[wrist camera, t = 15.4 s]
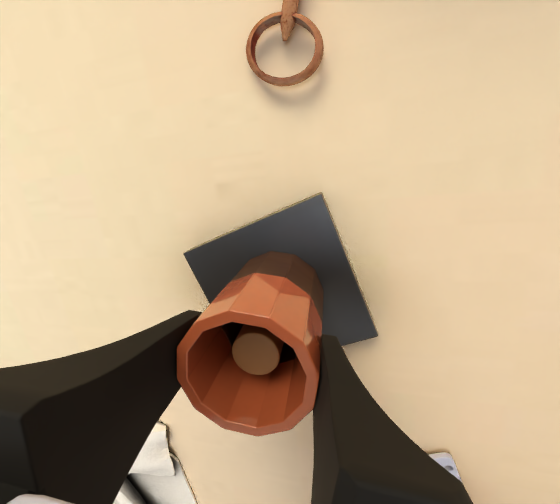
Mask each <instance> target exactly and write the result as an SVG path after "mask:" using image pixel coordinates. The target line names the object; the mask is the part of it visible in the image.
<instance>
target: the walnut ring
mask: <svg viewBox="0 0 560 504" xmlns="http://www.w3.org/2000/svg"><path fill="white" fill-rule="evenodd" d="M253 273H260V274H267V275H273V276H280V277H285V278H287V279H288V280H290V281H291V282H292V283H294V284H295V285H296V286H298V287H299V288H300V289H302V290H303V291H304V292H306V293H307V294H308V295H310V297H311V298H312V301H313V303H314V305H315V307H316V310H317V312H318V314H319V316H320V319H321V321H322V318H323V293H324V291H323V287H322V285H321V283H320V281H319V278H318V276H317V274H316V271H315V269H314V268H312V267H311V266H310V265H308V264H307V263H306V262H304V261H303V260H302V259H300V258H299V257H298V256H296V255H294V254H289V253H282V252H275V251H269V252H267V253H264V254H262V255H259V256H257V257H254V258H252V259H250V260H249V261H248V262H247V263H246V264H245V265H244V267H243V268H242V269H241V270H240V271H239V272H238V273H237V275H236V276H235V277H234V278H233V279H232V280H231V281H230V282H232V281H234V280H237V279H240V278H242V277H245V276H248V275H250V274H253ZM243 325H244V324H241V323H235V322H230V323H227V324H224V325H222V329H223V331H224V333H225V335H226V337H227V339H228V340H229V342H230V344H231V346H233V343H234V341H235V339H236V338H237V336H238V334H239V332H240V330H241V328H242V326H243ZM296 357H297V355H296V353H295V351H294V349H293V348H292V347H291V346H289V345H288V344H287V343H285V342H284V345H283V349H282V352H281V356H280V360H279V363H283V362H286V361H290V360H293V359H295V358H296ZM279 363H278V364H279Z"/></svg>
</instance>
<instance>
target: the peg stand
mask: <svg viewBox="0 0 560 504" xmlns="http://www.w3.org/2000/svg"><path fill="white" fill-rule="evenodd" d="M269 251H275V252H282V253H289V254H294V255H296V256H298V257H299V258H300V259H302V260H303V261H304V262H306V263H307V264H308V265H310V266H311V267H312V268H314V269H315V271H316V274H317V276H318V278H319V281H320V283H321V285H322V287H323V291H324V293H323V318H322V334H326V335H332V336H336V337H337V338H338V340H339V342H340V344H341V346H344V345H347V344H351V343H355V342H358V341H362V340H366V339H369V338H373V337H376V336H378V333H377V329H376V326H375V323H374V321H373V318H372V316H371V313H370V311H369V308H368V306H367V303H366V301H365V298H364V296H363V293H362V291H361V288H360V286H359V283H358V281H357V278H356V276H355V274H354V271H353V269H352V266H351V264H350V261H349V259H348V256H347V254H346V251H345V249H344V246H343V244H342V241H341V239H340V236H339V234H338V231H337V229H336V226H335V224H334V221H333V219H332V216H331V214H330V211H329V209H328V206H327V204H326V201H325V199H324V196H323V194H322V192H320V193H318V194H316V195H314V196H311V197H309V198H307V199H304V200H302V201H300V202H297V203H295V204H293V205H290V206H288V207H286V208H284V209H281V210H279V211H277V212H274V213H272V214H270V215H267V216H265V217H263V218H260V219H258V220H256V221H254V222H251V223H249V224H247V225H244V226H242V227H240V228H237V229H235V230H233V231H231V232H228V233H226V234H224V235H221V236H219V237H217V238H214V239H212V240H210V241H207V242H205V243H203V244H201V245H198V246H196V247H194V248H192V249H190V250H188V251H186V252H185V253H184V256H185V258H186V260H187V262H188V263H189V265H190V267H191V269H192V271H193V273H194V275H195V277H196V279H197V280H198V282H199V284H200V286H201V288H202V290H203V292H204V294H205V296H206V297H207V299H208V301H209V303H210V304H211V303H212V301H213V300H214V299H215V298H216V297H217V296H218V295H219V293H220V292H221V291H222V290H223V289H224V288H225V287H226V285H227V284H228V283H230V281H231V280H232V279H233V278H234V277H235V276H236V275H237V273H238V272H239V271H240V270H241V269H242V268H243V267H244V265H245V264H246V263H247V262H248V261H249V260H250V259H252V258H254V257H257V256H259V255H262V254H264V253H267V252H269ZM283 345H284V341H282V340H281V339H280V338H278V337H277V336H276V335H274V334H273V333H271V332H270V331H269V330H267V329H266V328H263V327H257V326H252V325H246V324H244V325H243V326H242V328H241V330H240V332H239V334H238V336H237V338H236V339H235V341H234V343H233V346H232V355H233V358H234V361H235V362H236V364H237V365H238V366H239V367H240V368H241V369H242V370H244V371H246V372H248V373H250V374H254V375H264V374H267V373H270V372H271V371H273V370H274V369H275V368H276V367H277V365H278V363H279V360H280V356H281V352H282V349H283Z"/></svg>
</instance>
